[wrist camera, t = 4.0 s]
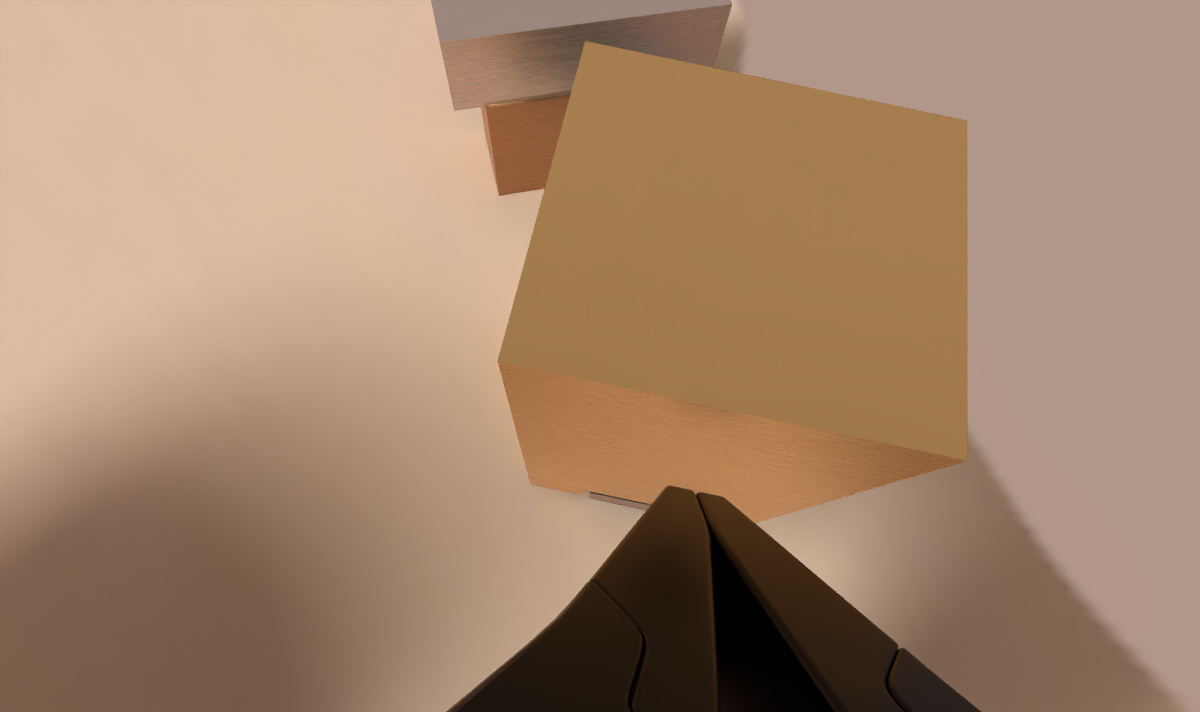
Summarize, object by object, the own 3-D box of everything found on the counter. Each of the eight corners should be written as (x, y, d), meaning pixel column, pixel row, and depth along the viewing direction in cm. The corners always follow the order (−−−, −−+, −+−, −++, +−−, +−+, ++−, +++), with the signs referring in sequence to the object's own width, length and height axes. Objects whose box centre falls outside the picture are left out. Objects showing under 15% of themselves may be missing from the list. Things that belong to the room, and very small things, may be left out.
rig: (675, 516, 17) (736, 483, 11) (357, 448, 17) (256, 382, 11) (736, 123, 22) (802, -42, 16) (485, 70, 22) (459, -113, 16)
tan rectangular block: (736, 528, 17) (967, 460, 7) (530, 484, 17) (497, 361, 7) (758, 354, 18) (967, 120, 9) (570, 315, 19) (585, 40, 9)
